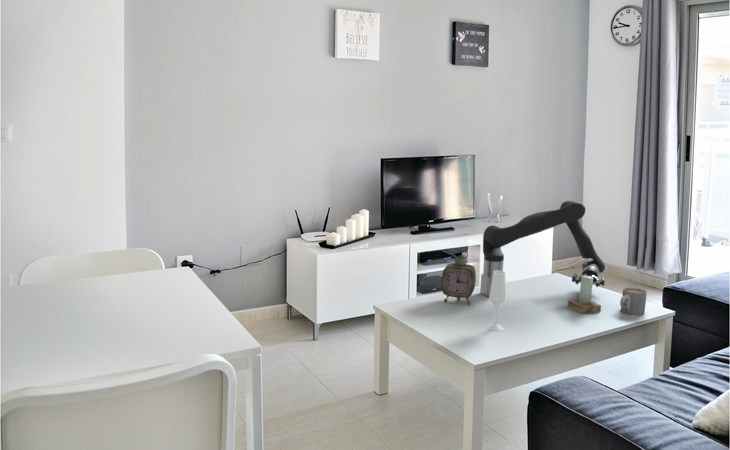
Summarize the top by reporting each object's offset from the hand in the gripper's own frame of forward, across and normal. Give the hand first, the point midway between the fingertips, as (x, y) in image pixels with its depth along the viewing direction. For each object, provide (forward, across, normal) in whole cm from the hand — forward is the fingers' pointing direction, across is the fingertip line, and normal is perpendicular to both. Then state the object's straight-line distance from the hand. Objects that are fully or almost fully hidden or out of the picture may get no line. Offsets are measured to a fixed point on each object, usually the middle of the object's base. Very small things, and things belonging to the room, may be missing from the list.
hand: (587, 283), depth 301 cm
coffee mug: (-4, +19, +12) cm, 23 cm away
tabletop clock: (+19, -54, +12) cm, 59 cm away
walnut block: (+2, 0, +12) cm, 12 cm away
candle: (+2, 0, +8) cm, 9 cm away
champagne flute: (+46, -31, +12) cm, 57 cm away
